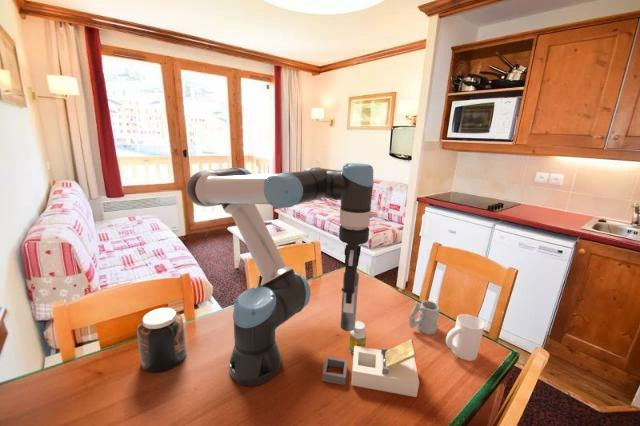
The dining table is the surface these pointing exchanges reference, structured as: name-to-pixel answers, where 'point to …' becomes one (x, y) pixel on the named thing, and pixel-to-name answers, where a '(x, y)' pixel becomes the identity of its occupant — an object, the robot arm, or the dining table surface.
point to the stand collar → (332, 376)
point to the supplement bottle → (357, 336)
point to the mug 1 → (425, 317)
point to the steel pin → (349, 318)
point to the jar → (161, 340)
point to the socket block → (383, 373)
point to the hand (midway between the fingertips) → (349, 306)
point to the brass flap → (399, 354)
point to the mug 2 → (466, 337)
